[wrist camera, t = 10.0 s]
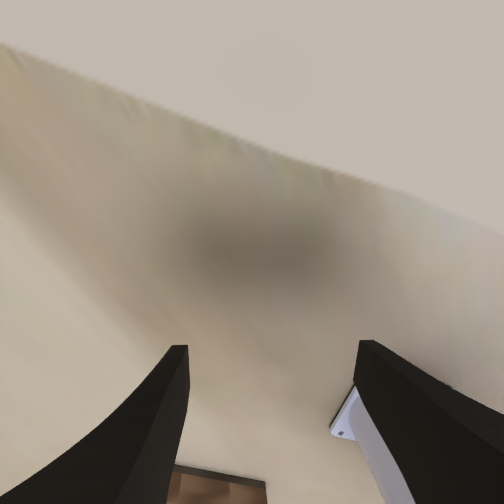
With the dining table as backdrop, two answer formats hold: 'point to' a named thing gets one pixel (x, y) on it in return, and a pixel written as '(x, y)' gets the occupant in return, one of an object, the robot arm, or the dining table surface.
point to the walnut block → (213, 488)
